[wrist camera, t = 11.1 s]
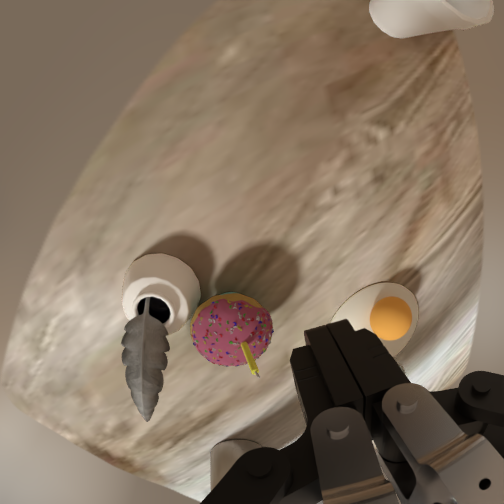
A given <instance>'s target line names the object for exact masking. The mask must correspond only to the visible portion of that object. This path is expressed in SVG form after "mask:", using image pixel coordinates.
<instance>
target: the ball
mask: <svg viewBox="0 0 504 504" xmlns="http://www.w3.org/2000/svg"><path fill="white" fill-rule="evenodd" d="M411 323H412V312H411V309H410V307H409V305H408V304H407V303H406V302H405V301H404V300H403V299H401V298H398V297H393V296H391V297H385V298H383V299H381V300H379V301H378V302H377V303H376V304H375V305H374V307H373V308H372V310H371V313H370V326H371V328H372V330H373V332H374V333H375V334H376V335H377V336H378V337H379V338H381V339H383V340H389V341H391V340H396V339H399V338H401V337H402V336H404V335H405V334H406V333H407V331H408V330H409V328H410V326H411Z"/></svg>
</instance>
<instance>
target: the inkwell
mask: <svg viewBox="0 0 504 504" xmlns="http://www.w3.org/2000/svg"><path fill="white" fill-rule="evenodd" d="M200 298H201V292H200V285H199V281H198V279H197V277H196V276H195V274H194V272H193V270H192V269H191V268H190V267H189V266H188V265H186V264H185V263H184V262H182V261H181V260H180V259H178V258H176V257H173V256H170V255H166V254H163V253H159V254H148V255H145V256H143V257H141V258H139V259H137V260H135V261H134V262H133V263H132V264H131V265H130V267H129V268H128V270H127V271H126V272H125V276H124V281H123V286H122V305H123V309H124V313H125V316H126V317H127V318H128V320H129V322H128V323H127V324H126V326H125V328H124V330H125V331H126V333H125V334H124V336H123V339H122V342H121V344H122V346H124V347H125V348H124V350H123V353H122V362H123V364H124V365H127V368H126V372H125V377H126V382H127V385H128V387H129V388H130V389H131V396H132V399H133V401H134V403H135V405H136V406H137V408H138V410H139V412H140V414H141V415H142V417H143V418H144V419H145V420H146V422H148V421H149V420H150V418H151V416H152V414H153V412H154V407H155V406H156V405H157V402H158V399H159V396H158V393H159V392H161V390H162V388H163V374H162V372H161V370H165V369H166V367H167V363H168V361H167V356H166V354H165V353H164V352H167V351H169V350H170V346H169V343H168V340H167V338H166V336H167V335H170V334H172V333H175V332H177V331H179V330H180V329H181V328H182V326H183V325H184V324H185V323H186V322H187V321H188V320H189V319H190V317H191V316H192V315H193V314H194V312H195V311H196V309H197V307H198V304H199V301H200Z"/></svg>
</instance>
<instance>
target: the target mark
mask: <svg viewBox="0 0 504 504" xmlns="http://www.w3.org/2000/svg"><path fill="white" fill-rule="evenodd" d="M391 296H393V297H398V298H401V299H403V300H404V301H405V302H406V303H407V304H408V305H409V307H410V309H411V312H412V323H411V326H410V328H409V330H408V331H407V333H406V334H405V335H404V336H402V337H401V338H399V339H396V340H391V341H389V340H383V339H381V338H379V337H378V338H379V339H380V340H381V342H382V343H383V346H385V347H386V349H387V350H388V351H389V354H391V356H392V357H394V356H396V355H397V354H398V353H399V352H400V351H401V350H402V349H403V348H404V347H405V346H406V344H407V343H408V342H409V340H410V339H411V337H412V335H413V333H414V331H415V328H416V326H417V322H418V316H419V310H418V304H417V301H416V298H415V296H414V295H413V294H412V292H411V291H410V290H408V289H407V288H406V287H404V286H402V285H400V284H397V283H391V282H384V283H378V284H373V285H371V286H368V287H366V288H364V289H361V290H360V291H358V292H357V293H355V294H354V295H352V296H351V297H350V298H348V299H347V300H346V301H345V302H344V303H343V304H342V305H341V307H340V308H339V309H338V310H337V312H336V313H335V315H334V316H333V318H332V320H331V322H330V323H333V322H336V321H340V320H343V319H348V321H349V322H350V324H351V325H352V327H353V328H354V330H355V331H357V330H360V329H363V328H366V329H367V330H369V331H371V332H373V330H372V328H371V326H370V313H371V310H372V308H373V307H374V305H375V304H376V303H377V302H378V301H379V300H381V299H383V298H385V297H391ZM373 333H374V332H373Z"/></svg>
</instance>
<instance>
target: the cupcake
mask: <svg viewBox="0 0 504 504" xmlns="http://www.w3.org/2000/svg"><path fill="white" fill-rule="evenodd" d="M272 331H273V326H272V319H271V316H270V314H269V313H268V311H267V310H266V309H265V308H263V307H262V306H261V305H260V304H259V303H258V302H257V301H256V300H255V299H253V298H251V297H248V296H245V295H242V294H239V293H236V292H226V293H223V294H221V295H216V296H213V297H211V298H210V299H208V300H207V301H206V302H204V303H203V304H201V305H200V306H199V307H198V308H197V309H196V311H195V313H194V315H193V318H192V320H191V323H190V332H191V337H192V340H193V342H194V343H193V344H194V345H195V346H196V348H197V350H198V351H199V353H200V354H201V355H202V356H204V357H205V358H206V359H207V360H208V361H210V362H212V363H214V364H218V365H219V366H220V365H222V366H226V367H227V366H236V367H237V366H239V365H246V364H247V363H248V365H249V367H250V370H251V372H252V374H254V375H255V374H256V375H257V377H258V378H260V376H259V374H258V372H259V370H258V367H257V365H256V363H255V360H256V359H257V358H259V356H261V354H262V353H263V352H265V351H266V349H267V348H268V345H269V344H270V343H271V337H272V333H273V332H274V331H273V332H272Z"/></svg>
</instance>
